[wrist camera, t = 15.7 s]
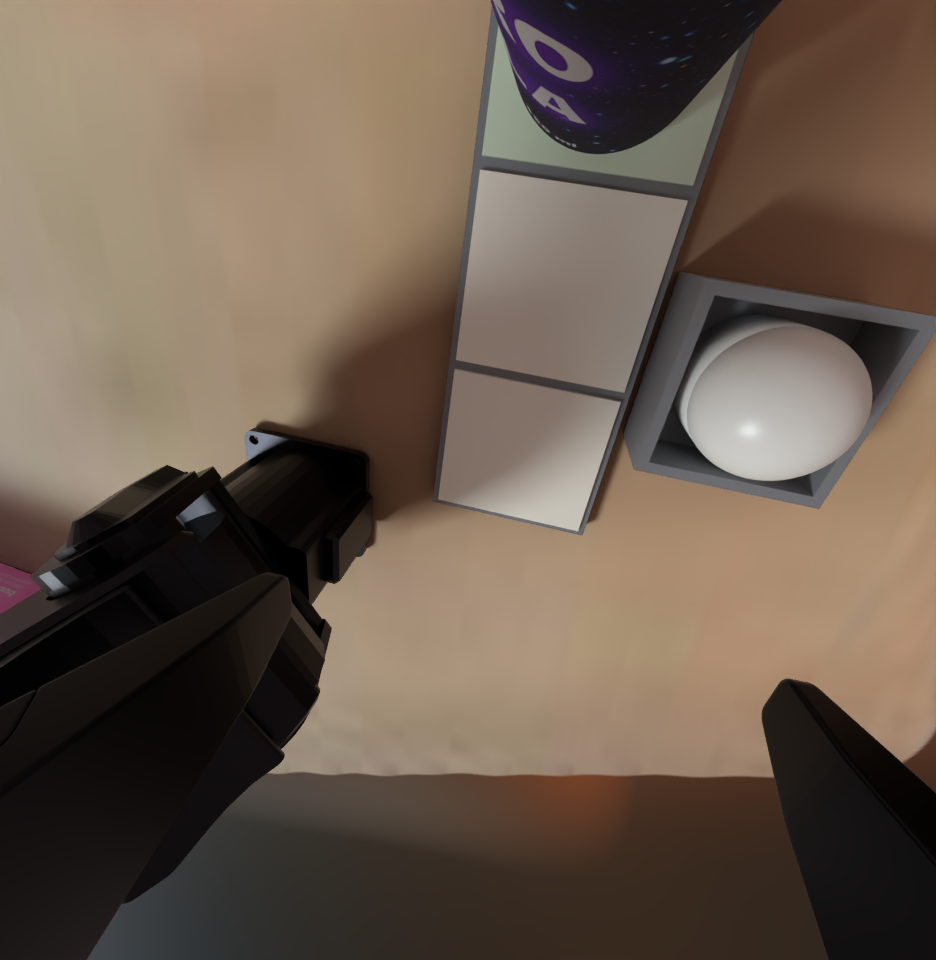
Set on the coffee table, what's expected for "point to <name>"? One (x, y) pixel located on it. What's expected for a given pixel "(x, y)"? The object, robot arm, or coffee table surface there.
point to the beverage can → (618, 62)
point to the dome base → (711, 301)
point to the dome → (772, 397)
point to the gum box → (14, 586)
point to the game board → (560, 297)
